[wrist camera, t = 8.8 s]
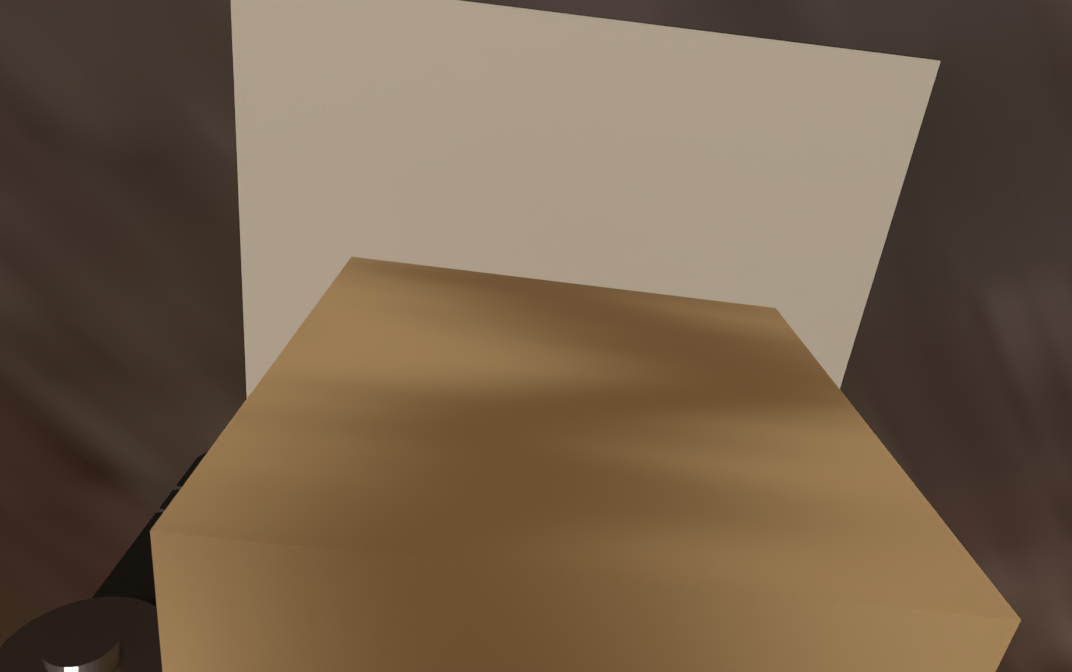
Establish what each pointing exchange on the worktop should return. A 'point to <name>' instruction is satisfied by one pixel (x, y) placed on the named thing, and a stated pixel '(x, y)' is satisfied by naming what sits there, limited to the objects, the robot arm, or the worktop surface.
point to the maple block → (556, 498)
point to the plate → (563, 158)
